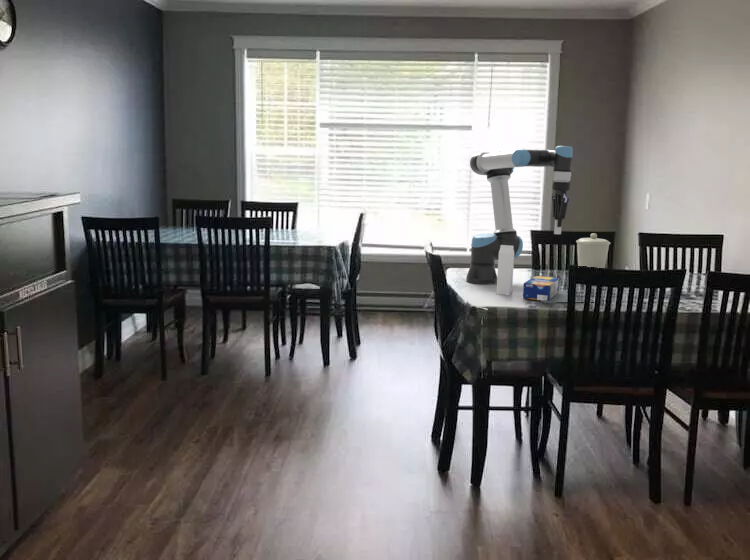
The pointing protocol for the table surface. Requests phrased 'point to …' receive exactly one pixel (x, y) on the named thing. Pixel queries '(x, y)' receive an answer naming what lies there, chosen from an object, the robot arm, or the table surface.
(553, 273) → the table surface
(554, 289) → the beverage box
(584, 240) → the canister
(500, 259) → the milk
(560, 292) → the mat
